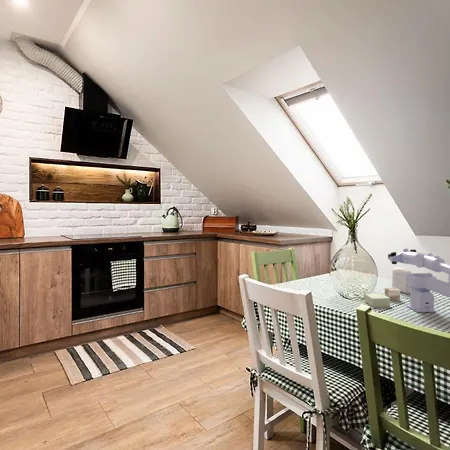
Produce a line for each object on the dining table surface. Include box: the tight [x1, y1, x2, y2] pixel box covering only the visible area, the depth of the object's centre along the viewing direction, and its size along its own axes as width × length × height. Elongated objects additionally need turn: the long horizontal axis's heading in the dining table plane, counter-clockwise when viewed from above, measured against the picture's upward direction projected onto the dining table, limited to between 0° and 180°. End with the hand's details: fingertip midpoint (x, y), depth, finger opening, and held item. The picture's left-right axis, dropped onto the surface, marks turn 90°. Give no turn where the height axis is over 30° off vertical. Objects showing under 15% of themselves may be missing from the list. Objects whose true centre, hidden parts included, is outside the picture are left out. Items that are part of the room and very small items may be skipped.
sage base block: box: [364, 293, 391, 308], centre depth 160 cm, size 8×8×4 cm
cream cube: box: [384, 287, 401, 301], centre depth 168 cm, size 5×5×5 cm
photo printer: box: [391, 266, 412, 294], centre depth 182 cm, size 10×4×12 cm, turn 17°
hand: (396, 255), depth 171 cm, fingers open, 7 cm apart
